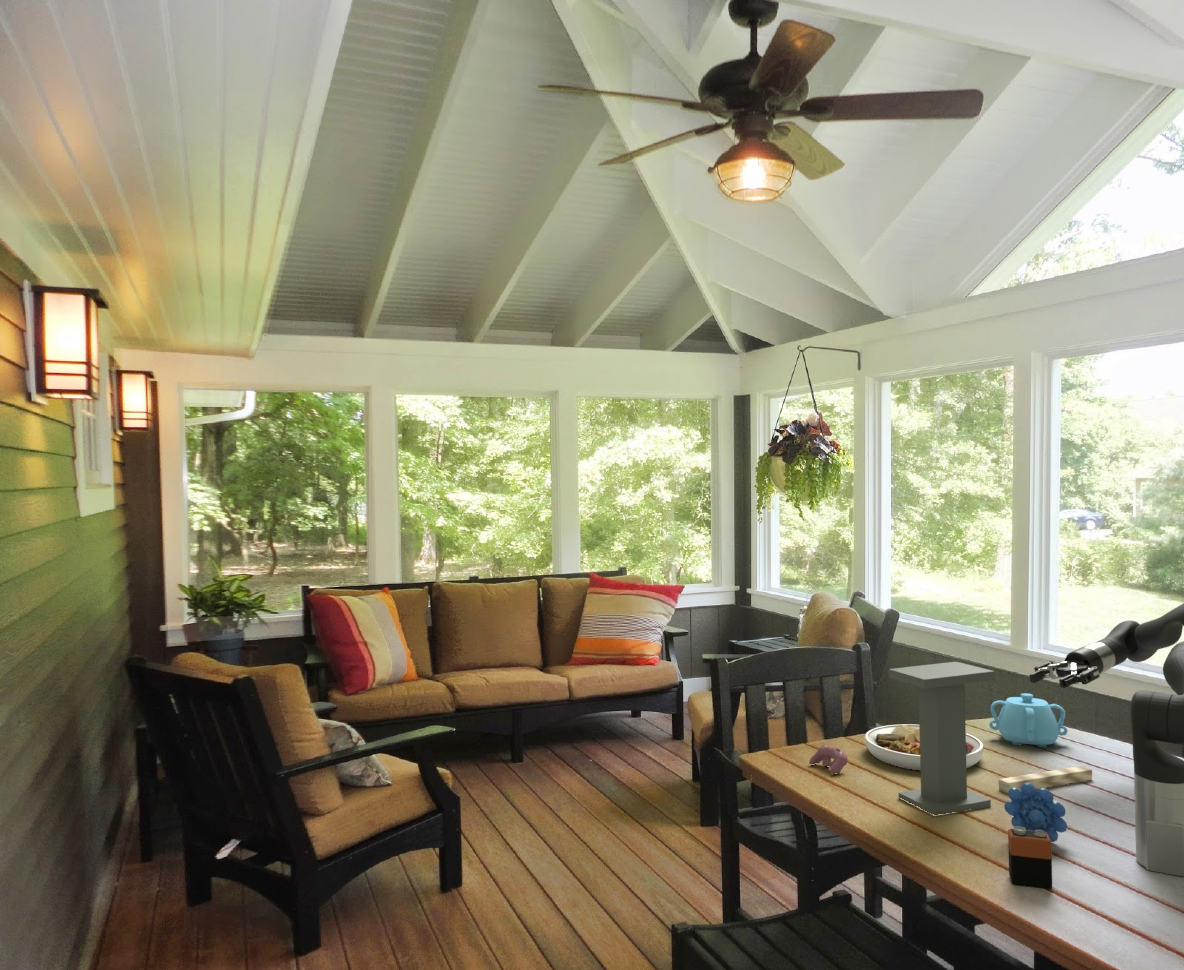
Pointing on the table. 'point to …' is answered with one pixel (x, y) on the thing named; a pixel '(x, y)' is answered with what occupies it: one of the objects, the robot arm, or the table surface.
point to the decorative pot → (1028, 721)
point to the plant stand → (943, 735)
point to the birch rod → (1047, 778)
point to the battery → (1030, 858)
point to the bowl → (910, 746)
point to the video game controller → (825, 756)
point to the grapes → (1036, 810)
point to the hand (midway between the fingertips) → (1045, 681)
